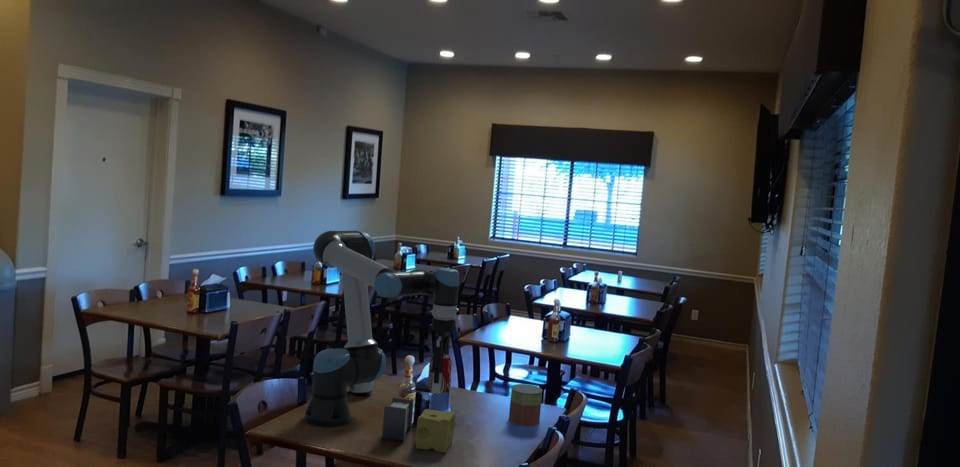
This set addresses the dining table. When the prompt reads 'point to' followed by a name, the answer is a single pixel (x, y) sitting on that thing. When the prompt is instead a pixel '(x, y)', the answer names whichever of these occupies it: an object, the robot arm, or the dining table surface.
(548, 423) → the dining table surface
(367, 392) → the spread jar
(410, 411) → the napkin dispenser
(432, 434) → the cheese
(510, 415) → the canned food
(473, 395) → the dining table surface
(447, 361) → the soda can
